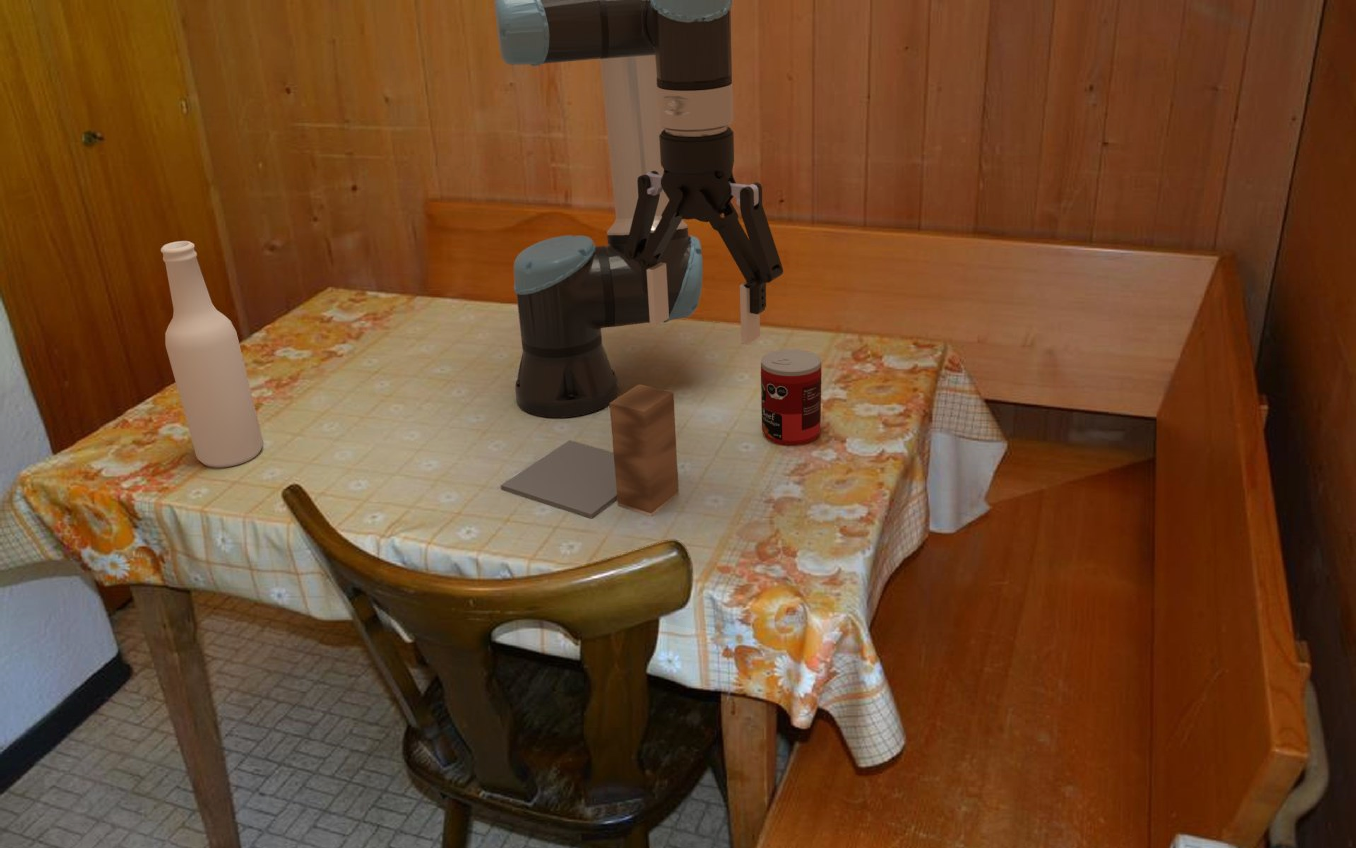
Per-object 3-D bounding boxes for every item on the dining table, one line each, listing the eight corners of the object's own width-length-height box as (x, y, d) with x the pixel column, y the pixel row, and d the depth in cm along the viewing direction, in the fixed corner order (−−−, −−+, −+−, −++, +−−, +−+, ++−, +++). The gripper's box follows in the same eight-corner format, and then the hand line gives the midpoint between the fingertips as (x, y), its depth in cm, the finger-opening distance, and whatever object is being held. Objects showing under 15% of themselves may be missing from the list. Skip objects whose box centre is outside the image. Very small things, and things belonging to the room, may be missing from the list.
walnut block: (617, 505, 135) (609, 403, 128) (645, 484, 139) (639, 384, 133) (651, 516, 132) (644, 411, 126) (678, 494, 137) (673, 392, 130)
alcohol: (269, 436, 157) (219, 231, 143) (259, 465, 149) (206, 251, 135) (204, 443, 155) (149, 238, 142) (191, 473, 148) (131, 258, 134)
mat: (501, 489, 140) (500, 485, 139) (569, 444, 150) (569, 440, 150) (591, 518, 132) (591, 514, 132) (657, 468, 143) (657, 464, 142)
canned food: (757, 423, 153) (756, 350, 148) (814, 418, 153) (815, 346, 148) (766, 449, 146) (765, 373, 141) (825, 444, 147) (827, 369, 142)
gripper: (581, 126, 114) (597, 324, 124) (781, 145, 102) (782, 362, 112) (623, 112, 119) (636, 303, 129) (818, 129, 107) (815, 337, 117)
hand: (704, 330), depth 120 cm, fingers open, 11 cm apart
